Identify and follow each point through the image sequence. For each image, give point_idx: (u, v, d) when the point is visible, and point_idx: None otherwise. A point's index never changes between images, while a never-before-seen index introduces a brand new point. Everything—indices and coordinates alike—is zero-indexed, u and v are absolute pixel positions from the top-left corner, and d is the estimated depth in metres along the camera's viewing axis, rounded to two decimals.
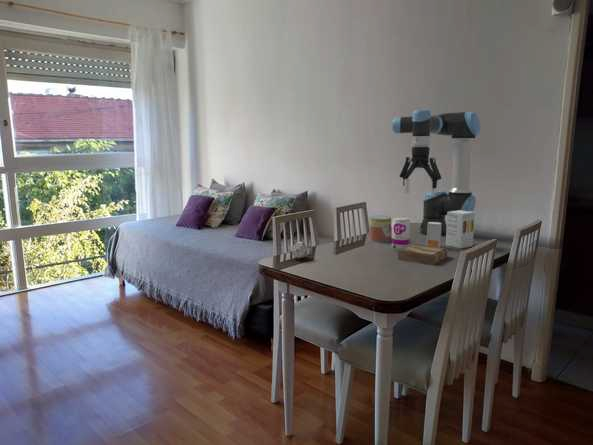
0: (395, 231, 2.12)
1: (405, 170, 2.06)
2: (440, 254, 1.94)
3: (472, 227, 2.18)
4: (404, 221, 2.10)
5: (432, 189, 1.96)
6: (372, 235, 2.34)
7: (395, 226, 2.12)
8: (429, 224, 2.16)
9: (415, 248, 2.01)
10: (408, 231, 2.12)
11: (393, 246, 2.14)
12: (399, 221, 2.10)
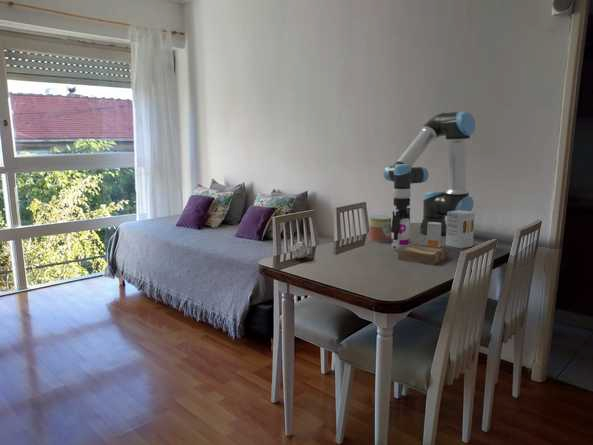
0: None
1: None
2: (440, 254, 1.94)
3: (472, 227, 2.18)
4: (404, 221, 2.10)
5: (394, 240, 2.12)
6: (372, 235, 2.34)
7: None
8: (429, 224, 2.16)
9: (415, 248, 2.01)
10: (408, 231, 2.12)
11: (393, 246, 2.14)
12: None
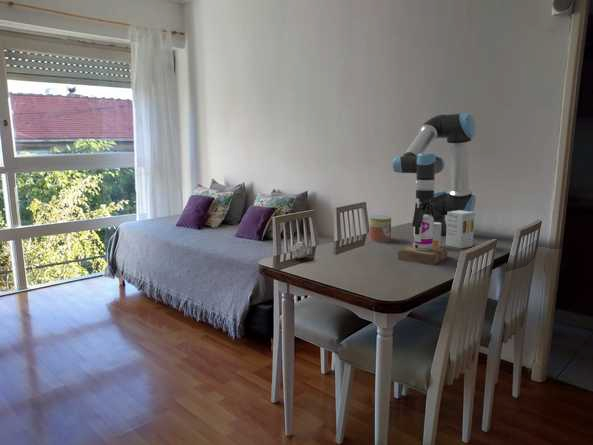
0: None
1: None
2: (440, 254, 1.94)
3: (472, 227, 2.18)
4: (427, 218, 1.93)
5: (416, 235, 1.93)
6: (372, 235, 2.34)
7: None
8: None
9: None
10: (432, 229, 1.95)
11: (415, 246, 1.97)
12: None
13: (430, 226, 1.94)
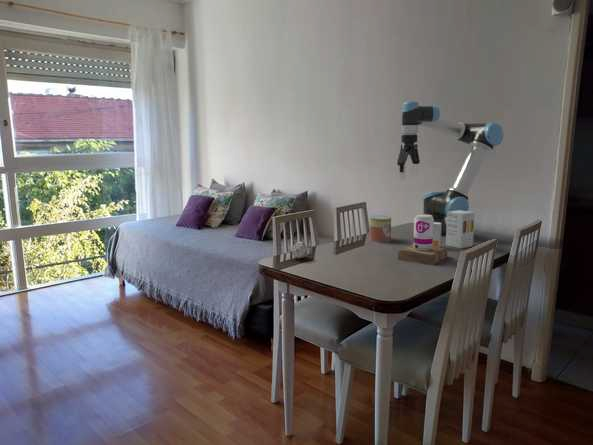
0: (417, 229, 1.95)
1: None
2: (440, 254, 1.94)
3: (472, 227, 2.18)
4: (427, 218, 1.93)
5: (400, 173, 2.18)
6: (372, 235, 2.34)
7: (417, 224, 1.95)
8: None
9: None
10: (432, 229, 1.95)
11: (415, 246, 1.97)
12: (422, 218, 1.93)
13: (430, 226, 1.94)
